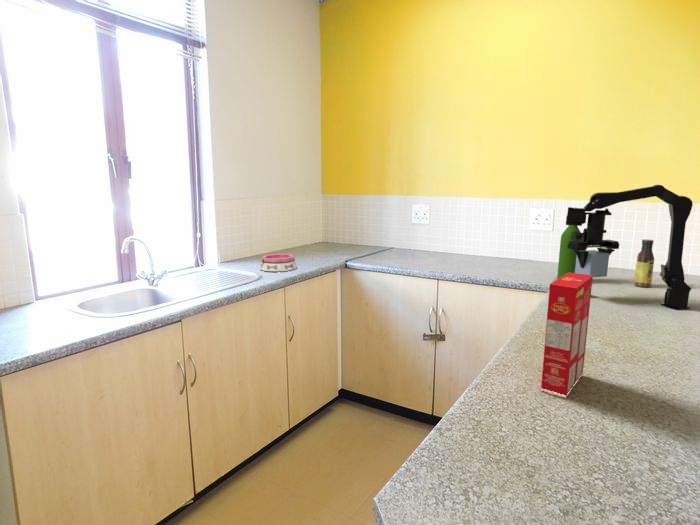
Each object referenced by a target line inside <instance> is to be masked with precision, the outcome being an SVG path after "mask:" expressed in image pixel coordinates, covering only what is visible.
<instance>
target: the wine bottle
mask: <svg viewBox="0 0 700 525" xmlns="http://www.w3.org/2000/svg"><path fill="white" fill-rule="evenodd" d="M574 231H578V232H579V233H582V232H581V230H580V228H579V226H574V225H567V227H566V228H565V230H564V231H563V232H562V234H561V236H560V242H559V253H558V265H557V276H556V280H557V279H559V278H560V277H562V276H564V275H565V274H567V273H568V272H570V273H575V266H576V256H577V254H576V253H575V252H574V251H572V249H569V248H567V247H568V243H569V242H570V241H575V240H571V233H572V232H574Z"/></svg>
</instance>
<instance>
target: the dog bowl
mask: <svg viewBox="0 0 700 525" xmlns="http://www.w3.org/2000/svg"><path fill="white" fill-rule="evenodd" d="M297 268H298V267H297V264H296V259H295V256H294V255H292V254H289V253H272V254H266V255H264V256H262V259H261V264H260V268H259V269H260V271H261V272H263V271H264V273H272V274H273V273H275V274H277V273H278V272H280V273H287V272H288V271H289V272H293V271H295V269H296V270H297ZM292 270H293V271H292Z"/></svg>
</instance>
